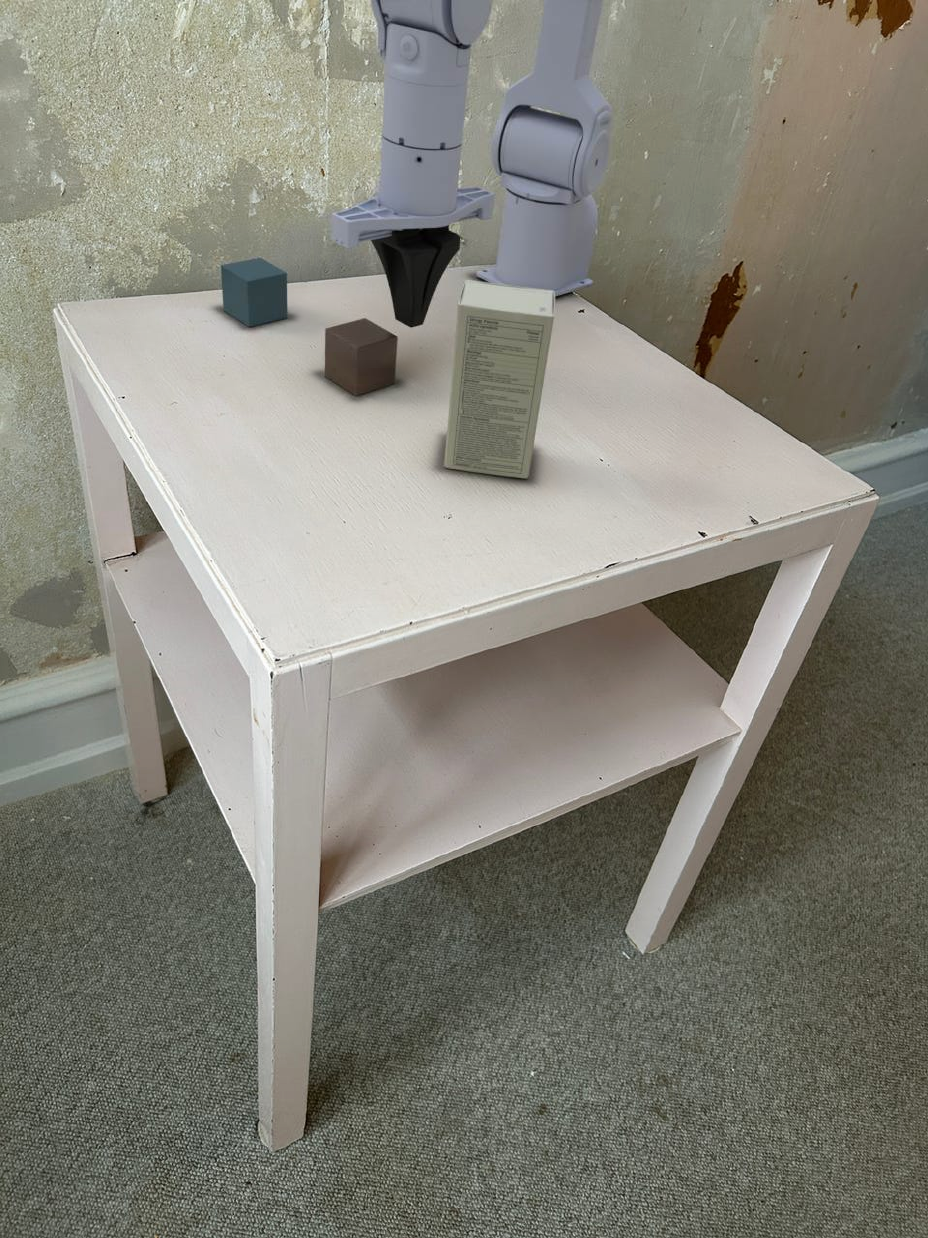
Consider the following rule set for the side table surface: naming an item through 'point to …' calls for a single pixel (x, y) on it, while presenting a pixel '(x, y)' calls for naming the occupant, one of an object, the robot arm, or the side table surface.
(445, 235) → the robot arm
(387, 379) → the walnut block
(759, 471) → the side table surface
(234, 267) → the slate block
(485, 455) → the cosmetic box
